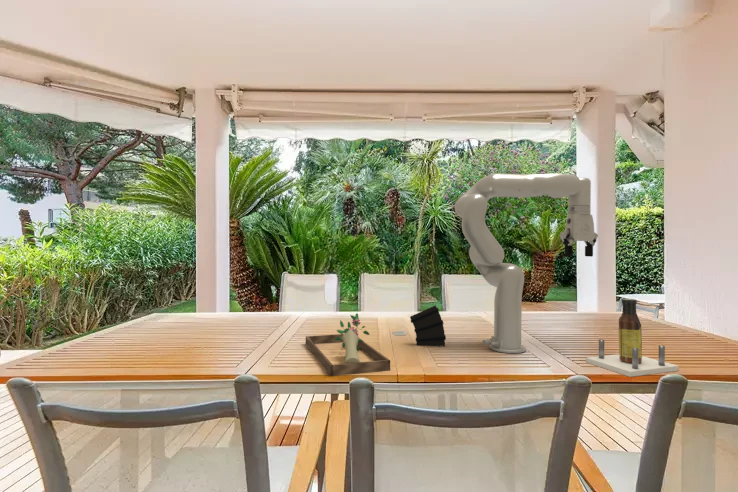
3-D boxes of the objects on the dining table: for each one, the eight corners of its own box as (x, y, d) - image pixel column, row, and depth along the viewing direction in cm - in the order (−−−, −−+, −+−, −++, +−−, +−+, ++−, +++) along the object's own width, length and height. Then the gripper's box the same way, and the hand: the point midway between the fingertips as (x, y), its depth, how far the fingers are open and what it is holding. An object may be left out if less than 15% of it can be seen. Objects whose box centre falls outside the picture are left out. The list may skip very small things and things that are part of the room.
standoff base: (630, 376, 123) (630, 351, 123) (585, 362, 138) (585, 339, 138) (678, 370, 129) (678, 346, 129) (631, 357, 144) (631, 335, 144)
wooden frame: (330, 376, 122) (330, 365, 122) (305, 344, 160) (305, 336, 160) (390, 370, 128) (390, 360, 128) (352, 340, 166) (352, 333, 166)
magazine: (453, 342, 157) (436, 306, 158) (421, 356, 159) (405, 320, 160) (453, 340, 161) (436, 304, 162) (421, 353, 163) (405, 318, 163)
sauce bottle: (646, 364, 131) (647, 300, 131) (627, 364, 130) (628, 300, 130) (631, 358, 137) (632, 297, 137) (613, 358, 137) (614, 297, 137)
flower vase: (341, 395, 127) (339, 343, 161) (380, 383, 127) (370, 334, 161) (329, 362, 124) (330, 316, 158) (369, 349, 124) (361, 306, 158)
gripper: (568, 209, 152) (568, 256, 152) (605, 211, 158) (604, 256, 158) (553, 211, 159) (553, 256, 159) (588, 212, 165) (588, 256, 165)
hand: (578, 256), depth 158 cm, fingers open, 9 cm apart
